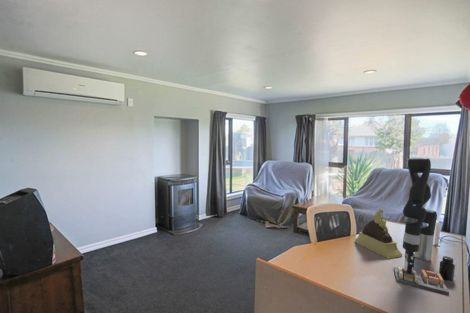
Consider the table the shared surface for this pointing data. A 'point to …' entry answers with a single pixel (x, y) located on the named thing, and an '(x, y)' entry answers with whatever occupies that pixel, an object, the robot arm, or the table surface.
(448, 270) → the supplement bottle
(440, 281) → the socket
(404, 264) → the peg
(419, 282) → the mount board
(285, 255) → the table surface
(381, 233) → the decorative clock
